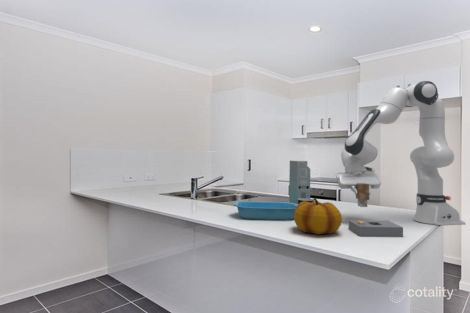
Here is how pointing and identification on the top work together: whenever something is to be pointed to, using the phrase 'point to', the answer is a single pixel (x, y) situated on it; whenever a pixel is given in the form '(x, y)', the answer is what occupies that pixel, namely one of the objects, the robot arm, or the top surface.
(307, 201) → the coffee mug
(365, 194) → the walnut plug
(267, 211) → the casserole dish
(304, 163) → the device
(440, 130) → the robot arm
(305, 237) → the top surface
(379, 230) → the socket block
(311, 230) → the decorative pumpkin
